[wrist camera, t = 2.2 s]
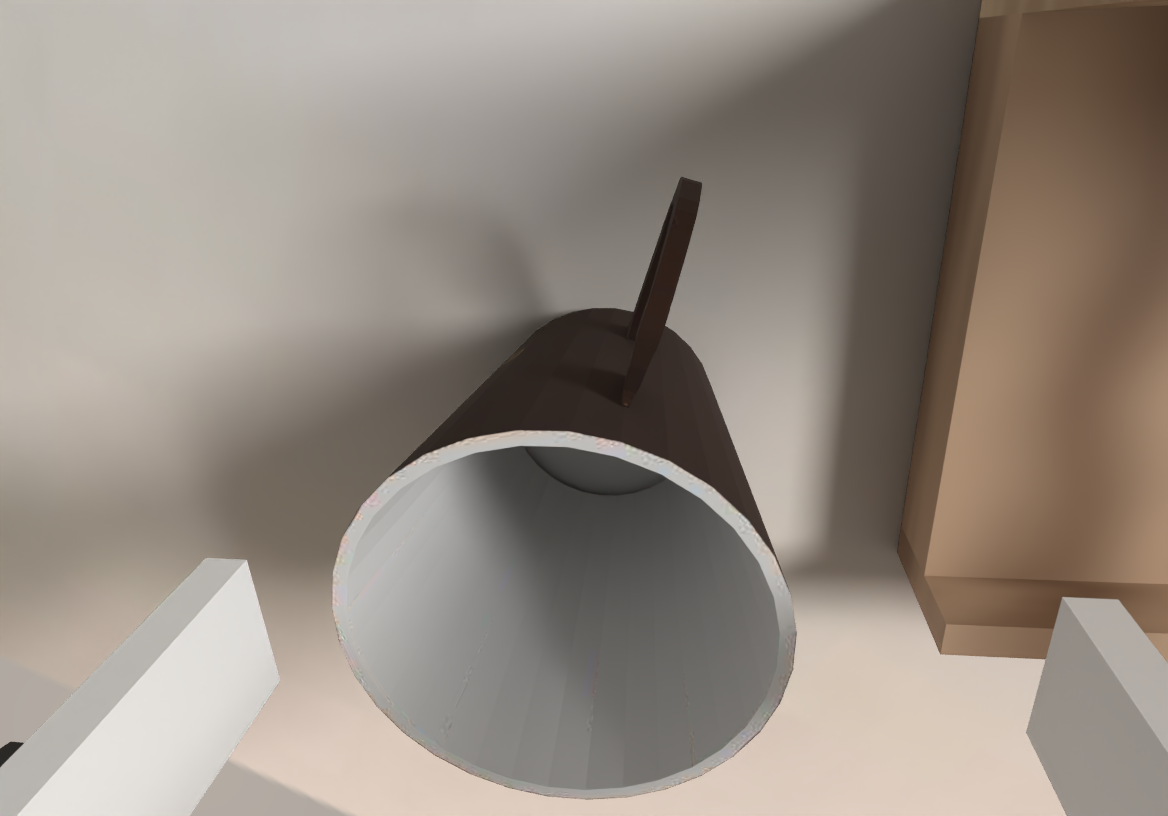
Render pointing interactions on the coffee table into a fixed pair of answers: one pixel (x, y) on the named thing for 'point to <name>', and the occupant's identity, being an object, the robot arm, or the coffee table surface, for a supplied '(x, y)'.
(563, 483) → the coffee mug
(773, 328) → the coffee table surface
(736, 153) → the coffee table surface
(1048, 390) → the light brown blocky piece
